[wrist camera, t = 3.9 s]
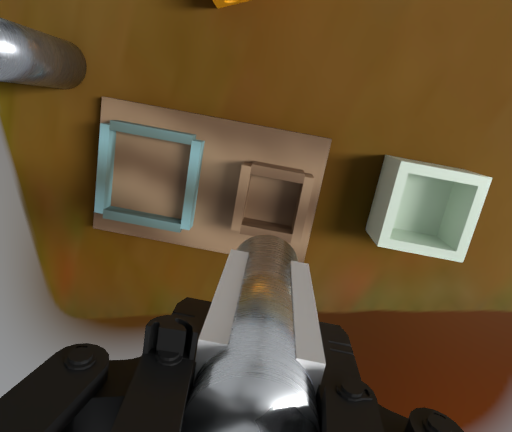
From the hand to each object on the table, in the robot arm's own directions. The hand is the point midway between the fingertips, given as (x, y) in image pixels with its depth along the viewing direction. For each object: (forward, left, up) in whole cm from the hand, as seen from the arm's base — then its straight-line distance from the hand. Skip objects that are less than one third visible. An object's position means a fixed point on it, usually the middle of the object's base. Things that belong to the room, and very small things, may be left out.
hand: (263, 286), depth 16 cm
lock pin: (0, 0, -2) cm, 2 cm away
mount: (0, -6, -20) cm, 20 cm away
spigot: (-8, -20, -20) cm, 29 cm away
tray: (-2, +13, -20) cm, 23 cm away
